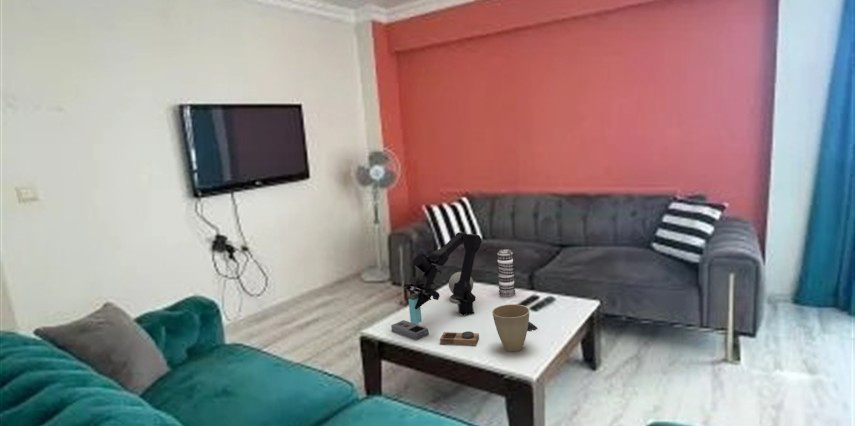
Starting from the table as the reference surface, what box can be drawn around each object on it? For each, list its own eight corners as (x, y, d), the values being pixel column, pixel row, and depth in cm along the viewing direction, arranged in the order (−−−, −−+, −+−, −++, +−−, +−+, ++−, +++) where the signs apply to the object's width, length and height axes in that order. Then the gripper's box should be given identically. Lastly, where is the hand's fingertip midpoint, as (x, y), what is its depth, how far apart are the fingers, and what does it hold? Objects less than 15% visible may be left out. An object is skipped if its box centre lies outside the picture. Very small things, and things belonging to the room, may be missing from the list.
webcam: (475, 295, 274) (474, 268, 271) (472, 303, 261) (470, 275, 259) (452, 295, 277) (450, 268, 274) (447, 303, 264) (445, 276, 262)
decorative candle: (494, 297, 268) (491, 251, 263) (506, 292, 274) (503, 247, 269) (508, 300, 261) (505, 253, 257) (519, 295, 267) (517, 249, 263)
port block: (404, 326, 240) (403, 319, 240) (428, 334, 228) (428, 328, 227) (391, 331, 235) (391, 324, 235) (416, 340, 223) (415, 333, 222)
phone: (522, 331, 221) (506, 319, 235) (522, 333, 221) (506, 321, 235) (538, 327, 223) (522, 316, 237) (538, 330, 223) (522, 318, 238)
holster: (444, 337, 223) (443, 329, 223) (479, 338, 219) (478, 330, 218) (440, 344, 217) (439, 336, 216) (476, 346, 212) (475, 337, 212)
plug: (416, 320, 229) (413, 292, 227) (421, 321, 227) (419, 293, 224) (410, 322, 227) (408, 294, 224) (416, 324, 224) (413, 296, 222)
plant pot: (523, 337, 216) (521, 302, 213) (537, 352, 202) (535, 314, 199) (490, 343, 214) (487, 307, 211) (501, 358, 199) (498, 319, 197)
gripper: (403, 265, 232) (387, 295, 226) (432, 271, 219) (416, 303, 213) (418, 277, 239) (402, 307, 233) (446, 284, 225) (431, 315, 220)
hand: (412, 308), depth 224 cm, fingers closed on plug, 3 cm apart
